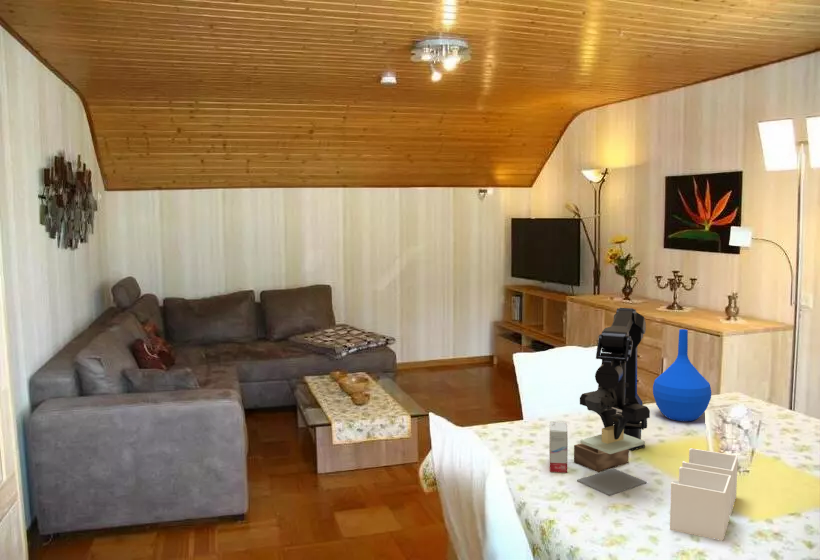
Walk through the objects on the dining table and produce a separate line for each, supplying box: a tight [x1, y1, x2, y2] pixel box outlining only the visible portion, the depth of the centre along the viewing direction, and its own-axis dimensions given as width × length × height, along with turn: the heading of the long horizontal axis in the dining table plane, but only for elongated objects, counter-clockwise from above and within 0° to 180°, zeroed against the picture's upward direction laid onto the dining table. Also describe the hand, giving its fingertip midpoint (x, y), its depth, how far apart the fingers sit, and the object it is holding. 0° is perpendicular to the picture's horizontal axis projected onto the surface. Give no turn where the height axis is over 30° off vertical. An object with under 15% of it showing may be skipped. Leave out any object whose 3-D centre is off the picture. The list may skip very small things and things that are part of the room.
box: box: [573, 443, 630, 473], centre depth 196 cm, size 12×9×5 cm
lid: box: [579, 425, 646, 454], centre depth 181 cm, size 13×10×5 cm
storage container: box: [669, 447, 739, 541], centre depth 163 cm, size 25×11×11 cm, turn 149°
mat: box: [576, 467, 648, 497], centre depth 182 cm, size 14×11×1 cm
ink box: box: [548, 421, 569, 474], centre depth 193 cm, size 9×5×12 cm, turn 168°
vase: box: [652, 328, 712, 422], centre depth 234 cm, size 18×18×30 cm
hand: (612, 437), depth 181 cm, fingers closed on lid
